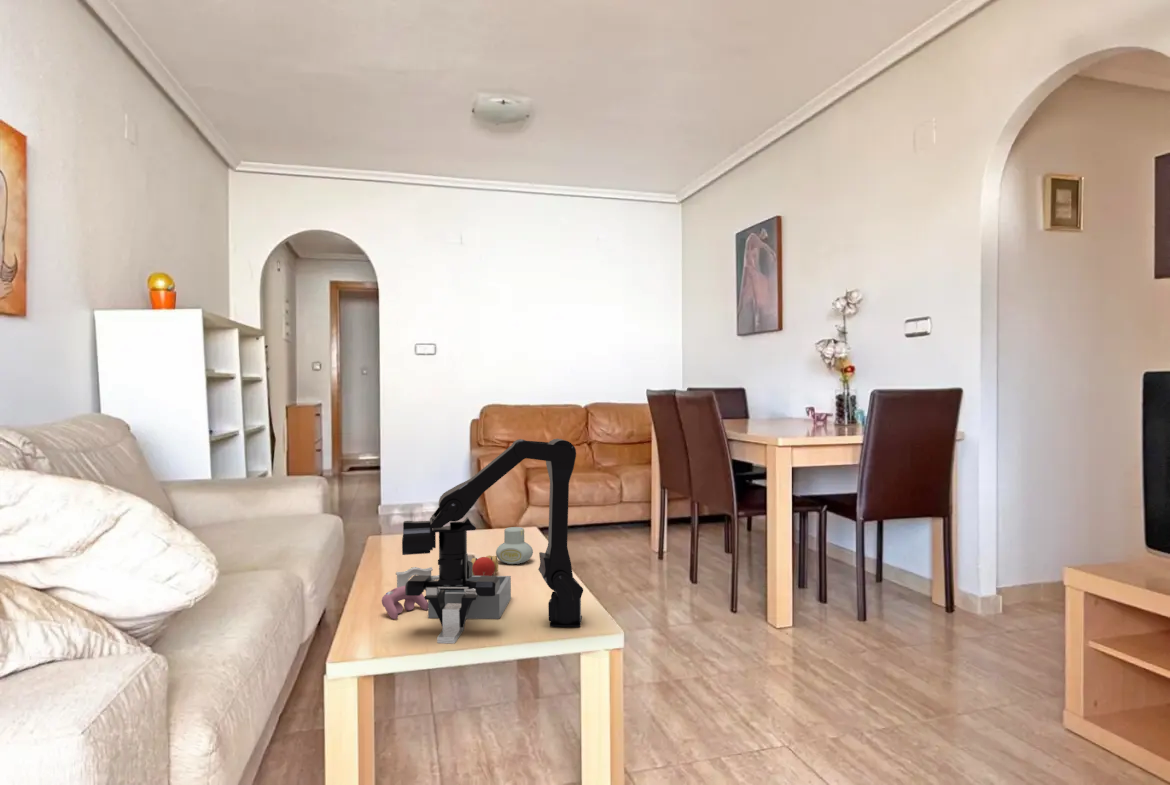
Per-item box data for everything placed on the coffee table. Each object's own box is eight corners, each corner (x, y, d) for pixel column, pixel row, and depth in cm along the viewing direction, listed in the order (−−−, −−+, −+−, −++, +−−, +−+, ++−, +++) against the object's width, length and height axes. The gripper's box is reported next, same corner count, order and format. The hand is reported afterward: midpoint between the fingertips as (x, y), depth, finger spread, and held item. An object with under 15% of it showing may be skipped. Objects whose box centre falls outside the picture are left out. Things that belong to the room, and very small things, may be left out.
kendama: (473, 570, 196) (465, 578, 179) (477, 548, 197) (470, 554, 180) (499, 575, 197) (494, 583, 179) (503, 553, 198) (498, 559, 180)
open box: (510, 598, 164) (510, 575, 164) (499, 618, 149) (499, 594, 149) (446, 597, 165) (445, 575, 165) (428, 618, 150) (428, 593, 150)
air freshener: (535, 559, 203) (535, 526, 204) (529, 566, 195) (529, 531, 195) (500, 558, 205) (500, 525, 205) (492, 565, 197) (492, 531, 197)
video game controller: (420, 613, 158) (412, 584, 160) (431, 608, 156) (422, 578, 158) (384, 624, 151) (376, 594, 153) (395, 619, 148) (386, 588, 150)
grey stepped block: (464, 629, 142) (463, 603, 142) (454, 643, 134) (454, 615, 134) (447, 629, 143) (447, 603, 143) (437, 643, 135) (437, 615, 135)
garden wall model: (441, 585, 176) (441, 562, 176) (443, 586, 175) (443, 564, 175) (395, 592, 170) (395, 568, 170) (397, 594, 169) (397, 570, 169)
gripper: (504, 543, 148) (504, 614, 148) (420, 543, 149) (421, 613, 149) (494, 555, 137) (494, 632, 137) (404, 555, 138) (404, 631, 138)
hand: (453, 626), depth 140 cm, fingers closed on grey stepped block, 3 cm apart
